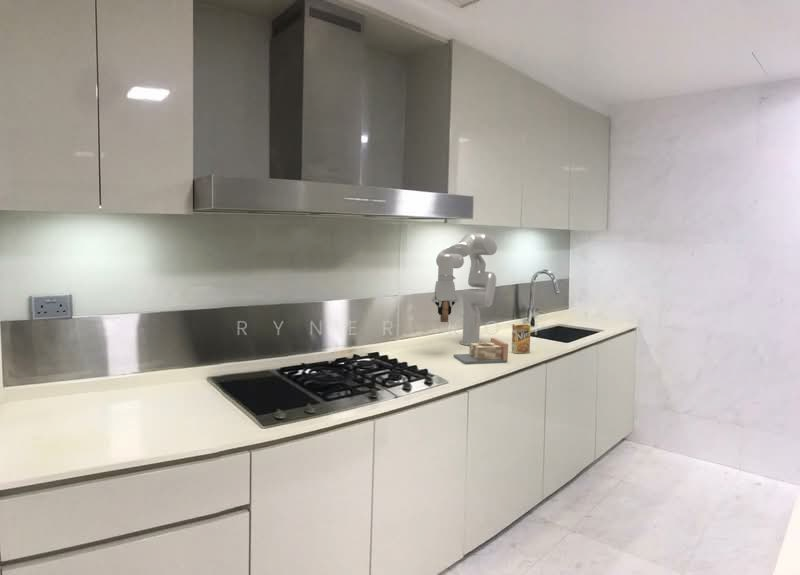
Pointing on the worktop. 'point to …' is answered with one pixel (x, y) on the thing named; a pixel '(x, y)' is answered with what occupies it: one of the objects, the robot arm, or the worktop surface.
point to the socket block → (485, 351)
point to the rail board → (470, 360)
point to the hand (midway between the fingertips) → (444, 314)
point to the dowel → (444, 311)
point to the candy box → (521, 338)
